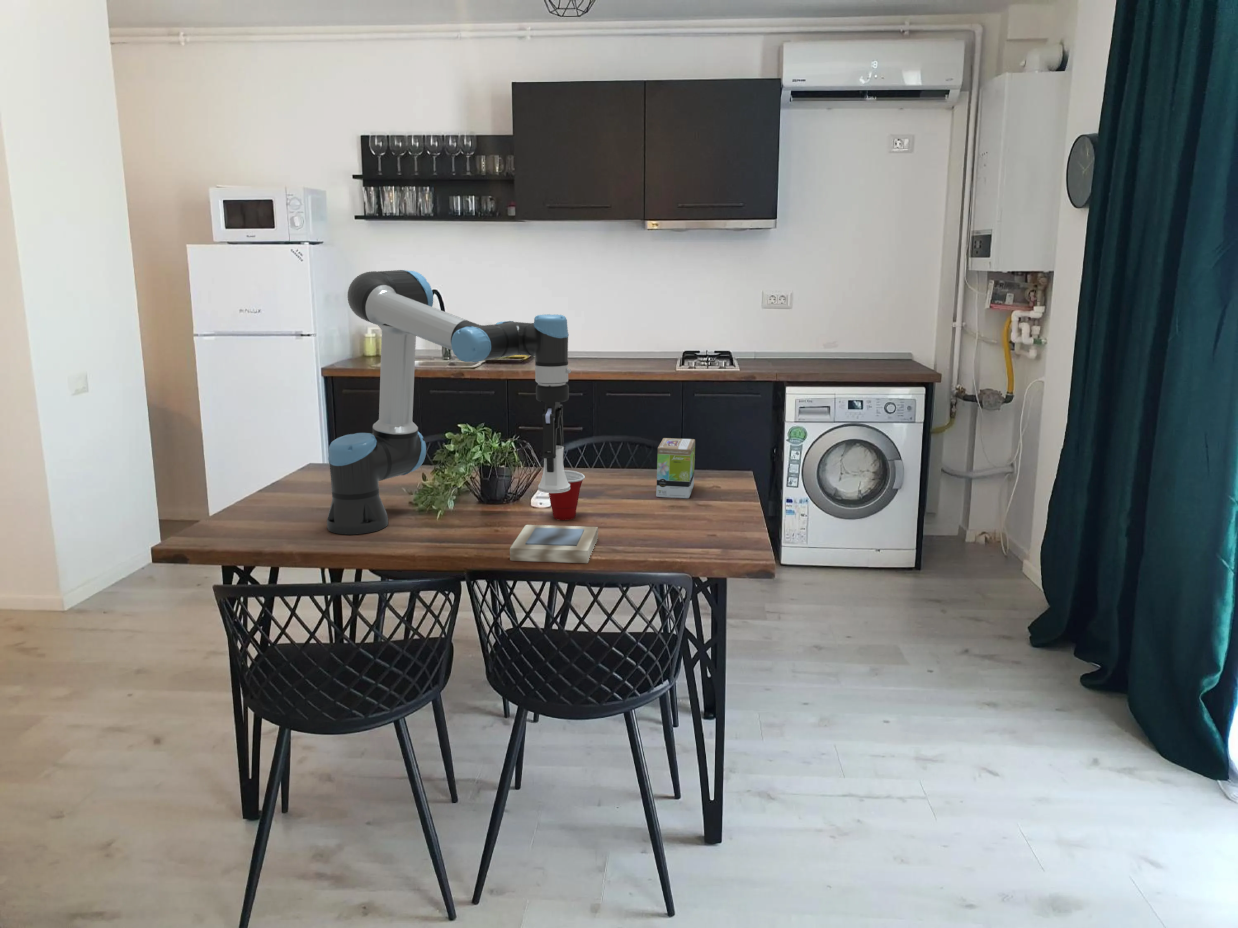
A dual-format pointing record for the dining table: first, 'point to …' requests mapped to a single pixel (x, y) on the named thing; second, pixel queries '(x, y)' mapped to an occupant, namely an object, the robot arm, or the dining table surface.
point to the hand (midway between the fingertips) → (554, 480)
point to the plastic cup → (567, 497)
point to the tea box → (675, 468)
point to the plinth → (554, 544)
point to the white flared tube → (561, 477)
